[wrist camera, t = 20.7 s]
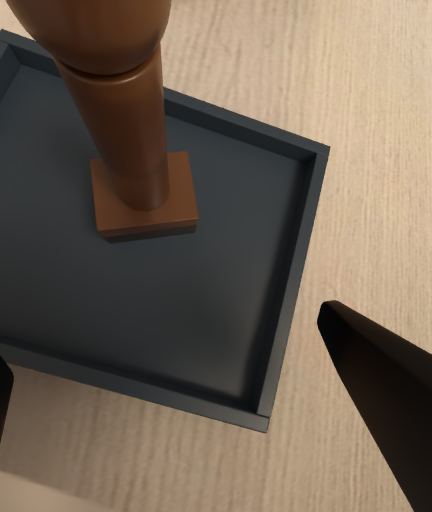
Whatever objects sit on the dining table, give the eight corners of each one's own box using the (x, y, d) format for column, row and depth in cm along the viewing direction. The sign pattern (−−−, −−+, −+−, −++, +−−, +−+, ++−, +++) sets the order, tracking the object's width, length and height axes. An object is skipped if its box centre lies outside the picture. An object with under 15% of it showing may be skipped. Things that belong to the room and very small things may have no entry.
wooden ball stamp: (185, 174, 18) (211, -227, 5) (195, 233, 18) (259, -37, 4) (102, 182, 17) (-161, -281, 4) (109, 244, 17) (-182, -51, 3)
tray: (256, 419, 16) (266, 434, 14) (-125, 313, 15) (-172, 314, 13) (315, 162, 20) (330, 146, 18) (20, 58, 19) (1, 28, 17)
